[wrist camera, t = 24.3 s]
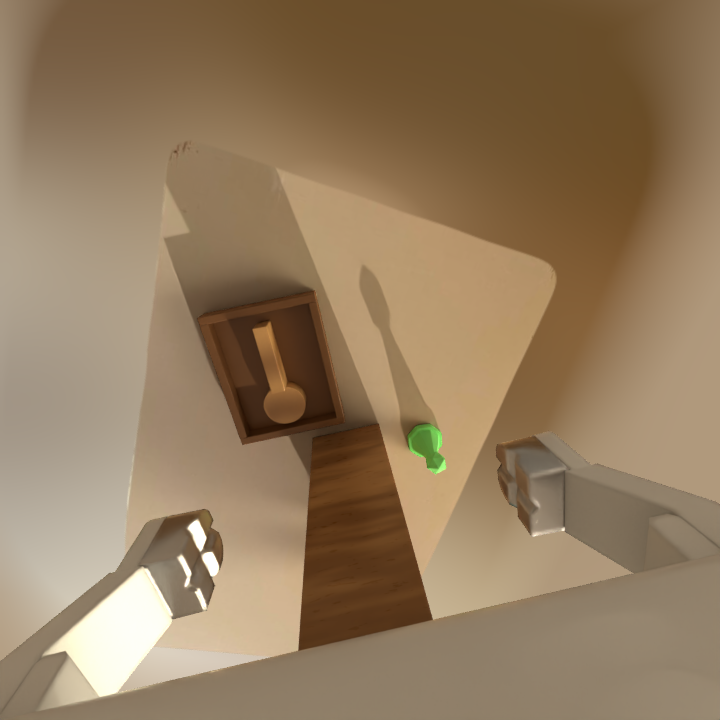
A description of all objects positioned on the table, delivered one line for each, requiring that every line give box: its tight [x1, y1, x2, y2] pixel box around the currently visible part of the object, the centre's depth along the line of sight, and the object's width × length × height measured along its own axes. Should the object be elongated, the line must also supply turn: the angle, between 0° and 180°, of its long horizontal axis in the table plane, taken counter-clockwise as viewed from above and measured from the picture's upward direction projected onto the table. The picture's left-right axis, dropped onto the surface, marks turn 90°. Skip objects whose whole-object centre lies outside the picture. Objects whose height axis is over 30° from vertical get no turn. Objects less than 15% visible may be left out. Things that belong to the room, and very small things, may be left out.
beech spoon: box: [252, 320, 306, 424], centre depth 37 cm, size 11×4×3 cm, turn 11°
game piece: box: [407, 424, 446, 474], centre depth 41 cm, size 4×4×6 cm
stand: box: [298, 424, 433, 651], centre depth 33 cm, size 12×8×24 cm, turn 11°
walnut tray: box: [197, 290, 345, 445], centre depth 38 cm, size 15×12×2 cm
